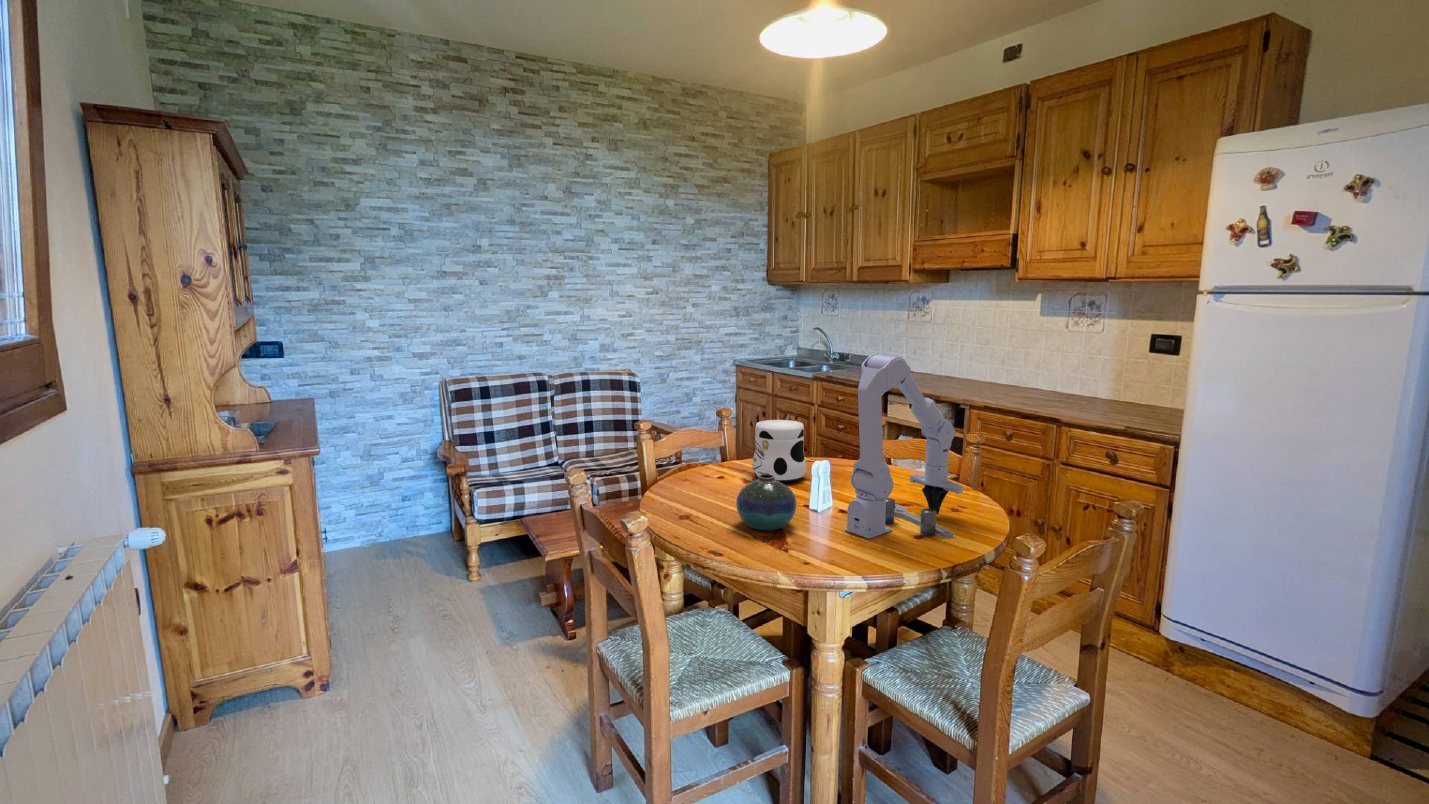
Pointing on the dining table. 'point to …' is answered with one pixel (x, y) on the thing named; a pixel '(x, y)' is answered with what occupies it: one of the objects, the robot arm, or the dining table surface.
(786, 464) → the milk container
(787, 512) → the vase
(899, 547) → the dining table surface
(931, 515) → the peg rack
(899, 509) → the adjustable wrench
